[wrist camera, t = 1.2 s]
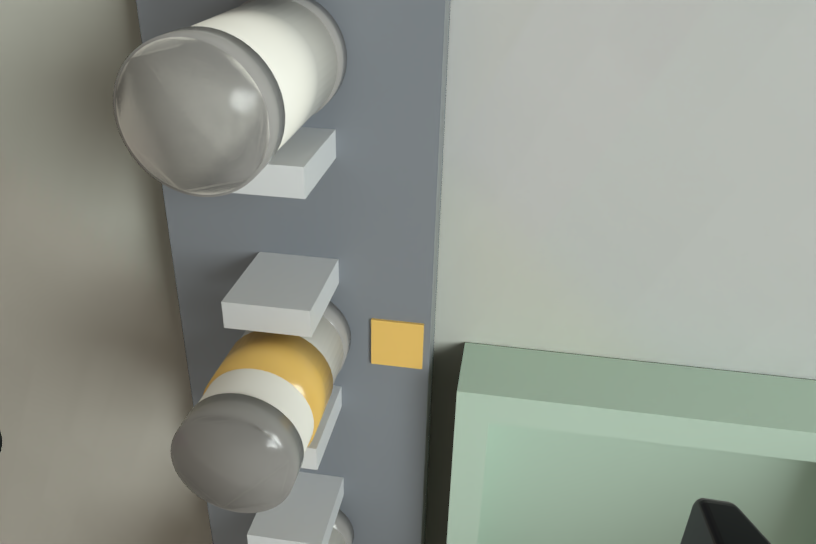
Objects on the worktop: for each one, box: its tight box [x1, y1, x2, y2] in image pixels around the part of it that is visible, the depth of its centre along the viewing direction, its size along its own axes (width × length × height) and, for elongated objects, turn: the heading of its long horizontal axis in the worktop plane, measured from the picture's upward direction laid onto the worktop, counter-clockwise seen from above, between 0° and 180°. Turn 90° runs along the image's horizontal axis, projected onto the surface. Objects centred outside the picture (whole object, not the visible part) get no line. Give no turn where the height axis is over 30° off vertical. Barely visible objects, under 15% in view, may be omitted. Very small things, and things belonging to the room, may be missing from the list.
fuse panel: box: [136, 0, 450, 544], centre depth 22 cm, size 8×25×4 cm, turn 179°
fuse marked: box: [171, 301, 351, 513], centre depth 20 cm, size 3×3×6 cm
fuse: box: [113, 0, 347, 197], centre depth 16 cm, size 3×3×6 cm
